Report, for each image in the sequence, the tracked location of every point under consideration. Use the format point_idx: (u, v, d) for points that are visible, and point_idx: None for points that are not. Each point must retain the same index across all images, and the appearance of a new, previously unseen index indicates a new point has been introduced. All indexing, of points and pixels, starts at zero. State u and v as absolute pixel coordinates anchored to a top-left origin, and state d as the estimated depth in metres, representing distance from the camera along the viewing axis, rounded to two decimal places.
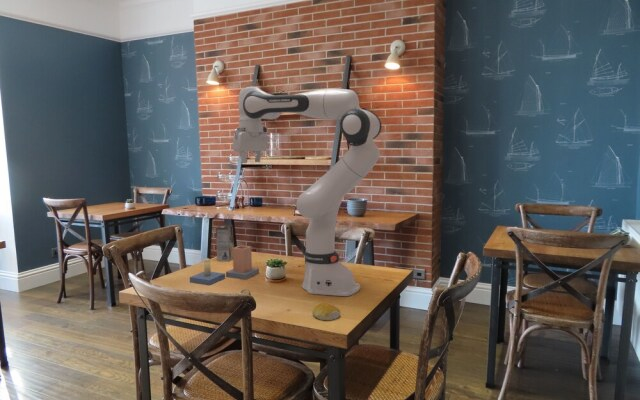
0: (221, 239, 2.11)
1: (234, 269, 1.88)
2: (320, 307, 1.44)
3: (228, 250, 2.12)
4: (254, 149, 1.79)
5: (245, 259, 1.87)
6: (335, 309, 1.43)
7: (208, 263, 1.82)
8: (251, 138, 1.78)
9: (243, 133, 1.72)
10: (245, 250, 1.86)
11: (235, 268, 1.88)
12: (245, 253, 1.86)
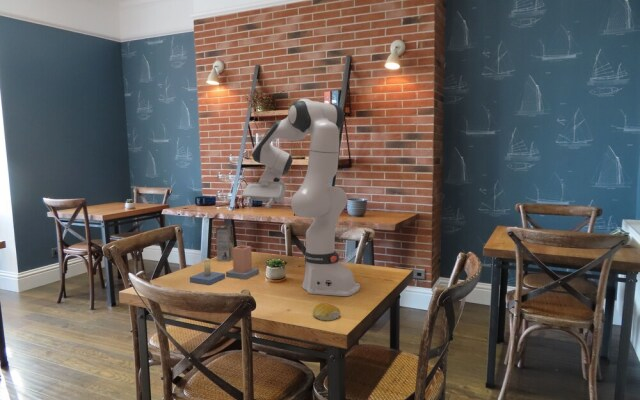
0: (221, 239, 2.11)
1: (234, 269, 1.88)
2: (320, 307, 1.44)
3: (228, 250, 2.12)
4: (260, 195, 2.00)
5: (245, 259, 1.87)
6: (335, 309, 1.43)
7: (208, 263, 1.82)
8: (260, 187, 2.03)
9: (251, 184, 2.07)
10: (245, 250, 1.86)
11: (235, 268, 1.88)
12: (245, 253, 1.86)
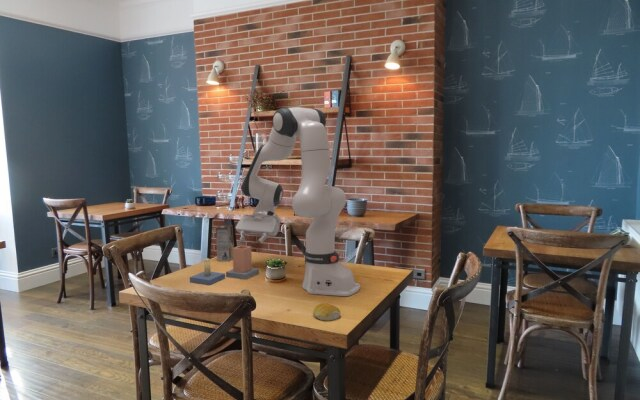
0: (221, 239, 2.11)
1: (234, 269, 1.88)
2: (320, 307, 1.44)
3: (228, 250, 2.12)
4: (253, 229, 1.96)
5: (245, 259, 1.87)
6: (335, 309, 1.43)
7: (208, 263, 1.82)
8: (254, 221, 2.00)
9: (245, 216, 2.03)
10: (245, 250, 1.86)
11: (235, 268, 1.88)
12: (245, 253, 1.86)
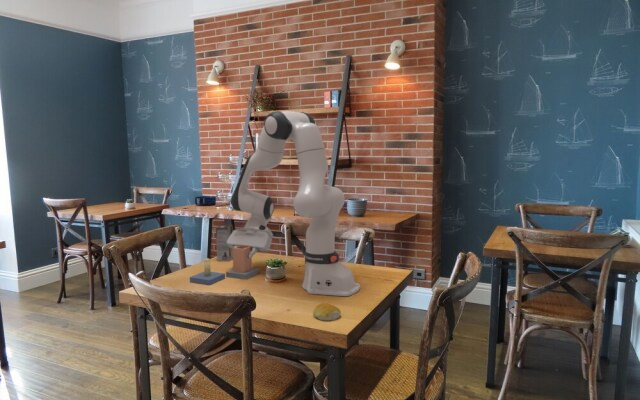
0: (221, 239, 2.11)
1: (234, 269, 1.88)
2: (321, 307, 1.44)
3: (228, 250, 2.12)
4: (245, 244, 1.91)
5: (245, 259, 1.87)
6: (336, 309, 1.42)
7: (208, 263, 1.82)
8: (246, 235, 1.94)
9: (236, 230, 1.97)
10: (245, 250, 1.86)
11: (235, 268, 1.88)
12: (245, 253, 1.86)
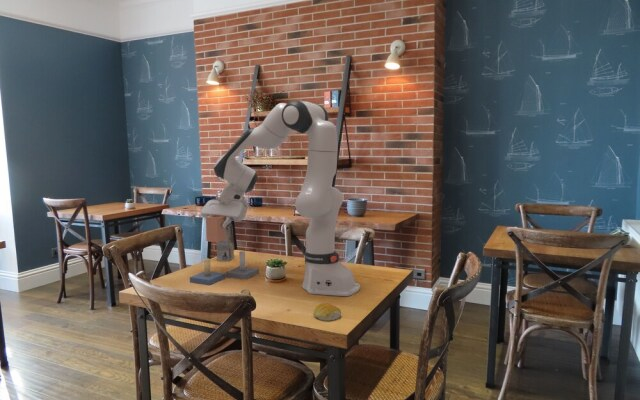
0: None
1: (207, 239, 1.82)
2: (321, 307, 1.44)
3: (228, 250, 2.12)
4: (219, 213, 1.85)
5: (218, 228, 1.80)
6: (336, 309, 1.42)
7: (208, 263, 1.82)
8: (220, 205, 1.88)
9: (211, 200, 1.91)
10: (218, 219, 1.80)
11: (208, 238, 1.82)
12: (218, 222, 1.80)
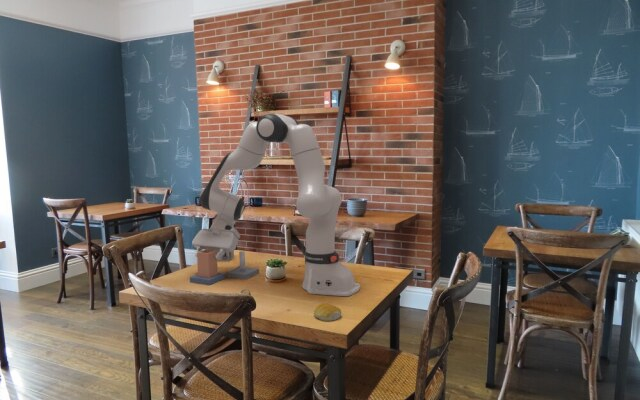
0: None
1: (199, 274, 1.81)
2: (321, 307, 1.44)
3: None
4: (210, 244, 1.84)
5: (210, 264, 1.80)
6: (336, 309, 1.42)
7: None
8: (211, 235, 1.87)
9: (202, 231, 1.90)
10: (210, 254, 1.79)
11: (200, 273, 1.81)
12: (210, 257, 1.79)
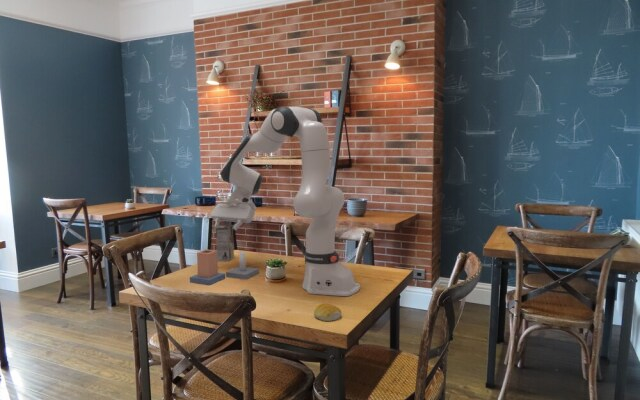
0: (221, 239, 2.11)
1: (199, 274, 1.81)
2: (321, 308, 1.44)
3: (228, 250, 2.12)
4: (228, 216, 1.94)
5: (210, 264, 1.80)
6: (337, 309, 1.42)
7: None
8: (229, 208, 1.97)
9: (220, 204, 2.01)
10: (210, 254, 1.79)
11: (200, 273, 1.81)
12: (210, 257, 1.79)
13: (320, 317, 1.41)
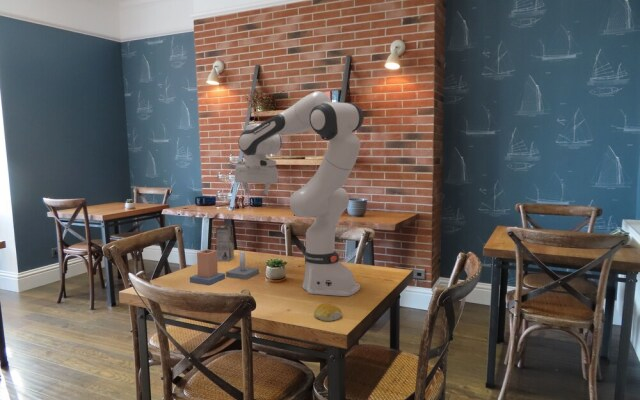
0: (221, 239, 2.11)
1: (199, 274, 1.81)
2: (322, 308, 1.44)
3: (228, 250, 2.12)
4: (253, 181, 1.91)
5: (210, 264, 1.80)
6: (337, 309, 1.42)
7: None
8: (250, 171, 1.91)
9: (239, 166, 1.93)
10: (210, 254, 1.79)
11: (200, 273, 1.81)
12: (210, 257, 1.79)
13: (320, 317, 1.41)
